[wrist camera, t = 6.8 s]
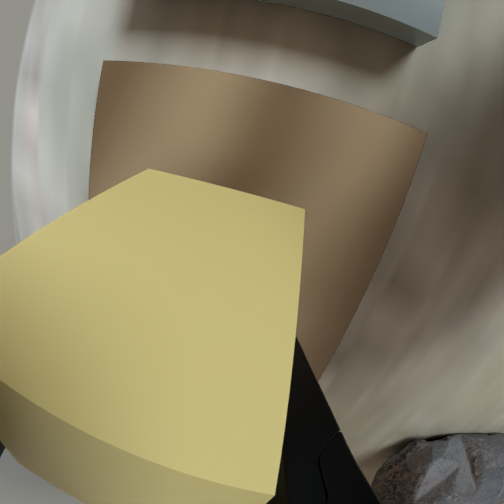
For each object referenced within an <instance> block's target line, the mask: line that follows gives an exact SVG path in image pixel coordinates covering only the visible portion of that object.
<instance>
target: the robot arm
mask: <svg viewBox="0 0 504 504" xmlns="http://www.w3.org/2000/svg"><path fill="white" fill-rule="evenodd" d="M339 431H340V428H339V426H338V424H337V422H336V420H335V417H334V415H333V413H332V411H331V409H330V407H329V405H328V402H327V400H326V398H325V396H324V394H323V392H322V390H321V388H320V385H319V383H318V381H317V379H316V377H315V375H314V373H313V370H312V368H311V366H310V364H309V362H308V360H307V358H306V356H305V353H304V351H303V349H302V347H301V345H300V343H299V341H298V339H297V337H295V347H294V356H293V366H292V375H291V383H290V392H289V400H288V408H287V416H286V424H285V431H284V439H283V446H282V453H281V459H280V466H279V473H278V479H277V485H276V492H275V496H274V497H273V498H272V499H270V500H269V501H268V502H267V503H266V504H382V503H381V502H380V500H379V498H378V497H377V495H376V494H375V492H374V491H373V489H372V487H371V486H370V484H369V483H368V481H367V480H366V478H365V476H364V474H363V473H362V471H361V469H360V468H359V466H358V464H357V463H356V461H355V459H354V457H353V455H352V453H351V451H350V449H349V447H348V445H347V443H346V441H345V439H344V436H343V434H342V432H339ZM4 449H5V446H4V445H3V444H2V442H1V441H0V457H1V455H2V453H3V451H4Z"/></svg>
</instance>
